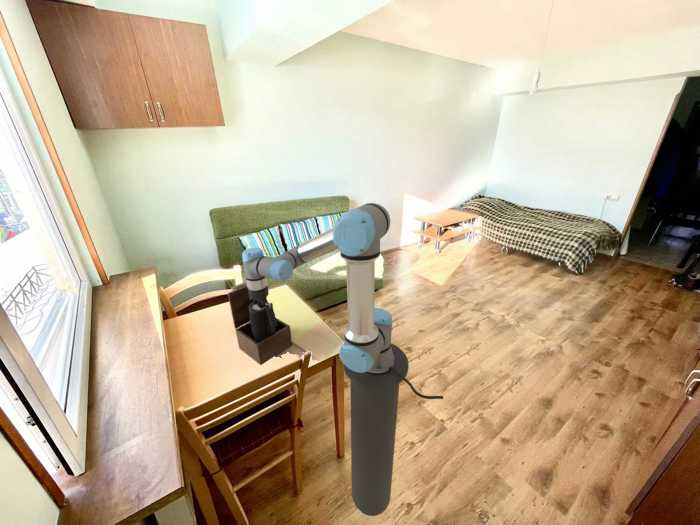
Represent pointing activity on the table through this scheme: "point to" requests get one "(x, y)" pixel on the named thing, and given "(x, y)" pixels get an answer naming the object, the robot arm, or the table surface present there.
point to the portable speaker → (258, 322)
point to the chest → (264, 342)
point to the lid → (239, 304)
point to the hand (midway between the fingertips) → (265, 333)
